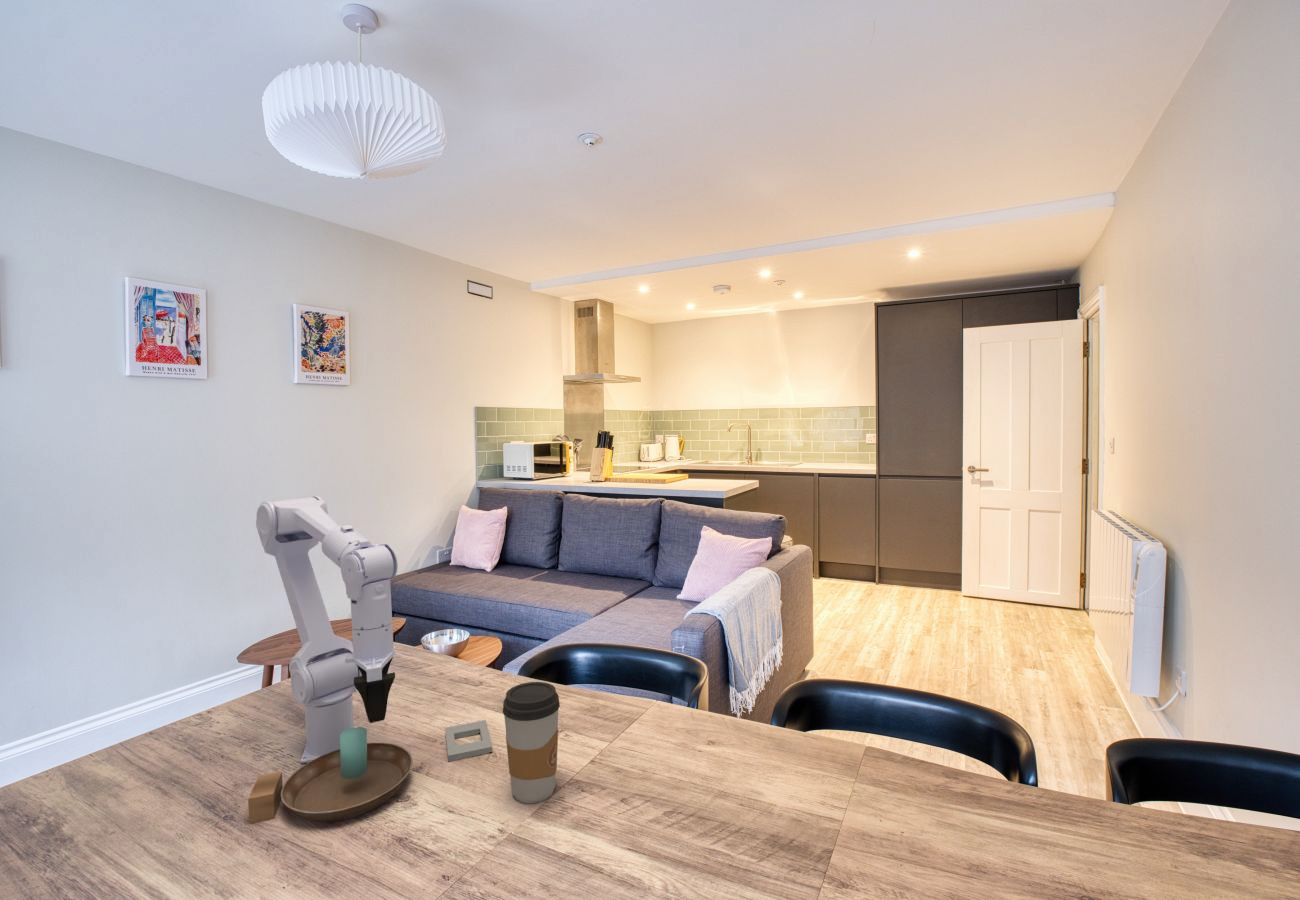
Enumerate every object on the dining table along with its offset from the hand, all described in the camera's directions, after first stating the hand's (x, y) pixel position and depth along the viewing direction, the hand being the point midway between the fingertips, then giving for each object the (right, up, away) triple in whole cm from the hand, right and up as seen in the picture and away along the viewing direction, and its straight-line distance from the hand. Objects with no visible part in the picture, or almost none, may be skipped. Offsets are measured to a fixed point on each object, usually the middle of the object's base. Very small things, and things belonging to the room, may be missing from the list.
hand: (376, 710), depth 95 cm
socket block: (+11, -10, +10) cm, 18 cm away
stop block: (-13, -11, -7) cm, 18 cm away
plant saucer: (-2, -11, -3) cm, 12 cm away
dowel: (-2, -8, -3) cm, 9 cm away
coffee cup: (+25, -10, -5) cm, 28 cm away
